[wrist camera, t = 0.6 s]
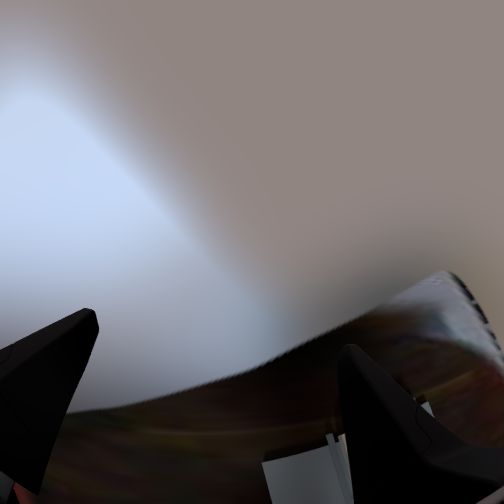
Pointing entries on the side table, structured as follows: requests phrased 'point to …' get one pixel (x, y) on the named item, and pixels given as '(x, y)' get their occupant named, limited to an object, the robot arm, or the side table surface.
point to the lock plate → (312, 476)
